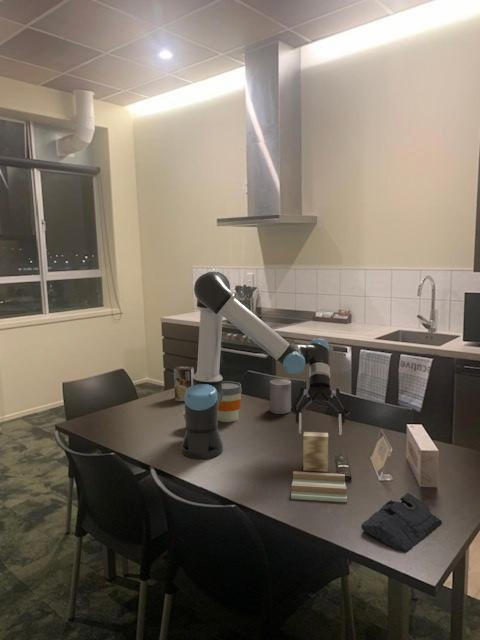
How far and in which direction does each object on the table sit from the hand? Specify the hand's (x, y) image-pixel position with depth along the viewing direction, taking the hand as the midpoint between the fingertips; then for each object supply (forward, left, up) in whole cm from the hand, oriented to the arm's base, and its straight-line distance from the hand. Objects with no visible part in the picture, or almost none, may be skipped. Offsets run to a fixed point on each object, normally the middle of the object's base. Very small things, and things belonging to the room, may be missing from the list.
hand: (320, 432), depth 166 cm
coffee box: (-65, +65, -11) cm, 93 cm away
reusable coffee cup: (-39, +40, -11) cm, 57 cm away
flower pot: (-50, +27, -11) cm, 58 cm away
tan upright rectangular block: (-1, -5, -11) cm, 12 cm away
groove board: (0, -19, -11) cm, 22 cm away
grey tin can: (-17, +53, -11) cm, 57 cm away
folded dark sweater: (+21, -36, -11) cm, 43 cm away
